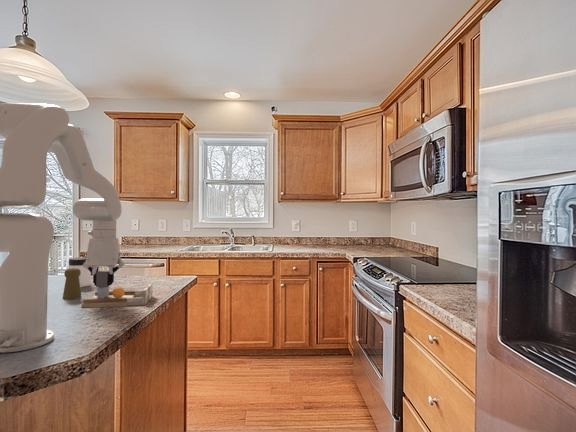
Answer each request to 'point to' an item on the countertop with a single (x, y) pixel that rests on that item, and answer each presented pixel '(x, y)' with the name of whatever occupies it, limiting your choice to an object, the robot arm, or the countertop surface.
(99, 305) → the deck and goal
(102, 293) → the grey stepped block
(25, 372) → the countertop surface
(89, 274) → the jar
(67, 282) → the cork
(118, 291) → the ball
